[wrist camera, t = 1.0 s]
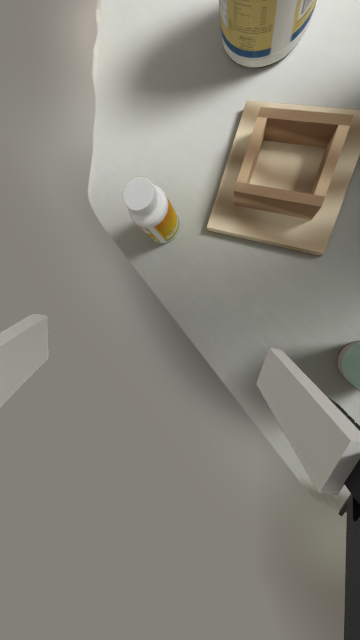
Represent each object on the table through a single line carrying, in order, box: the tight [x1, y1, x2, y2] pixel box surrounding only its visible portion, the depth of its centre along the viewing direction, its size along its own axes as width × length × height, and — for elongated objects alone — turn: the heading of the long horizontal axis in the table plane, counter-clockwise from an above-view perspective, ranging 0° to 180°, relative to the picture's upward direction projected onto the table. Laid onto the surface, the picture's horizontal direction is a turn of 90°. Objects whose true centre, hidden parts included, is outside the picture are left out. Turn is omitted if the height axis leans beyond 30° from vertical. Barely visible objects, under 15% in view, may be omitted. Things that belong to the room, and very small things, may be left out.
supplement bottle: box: [123, 177, 180, 243], centre depth 30 cm, size 5×5×10 cm
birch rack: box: [207, 101, 360, 256], centre depth 29 cm, size 18×16×5 cm
